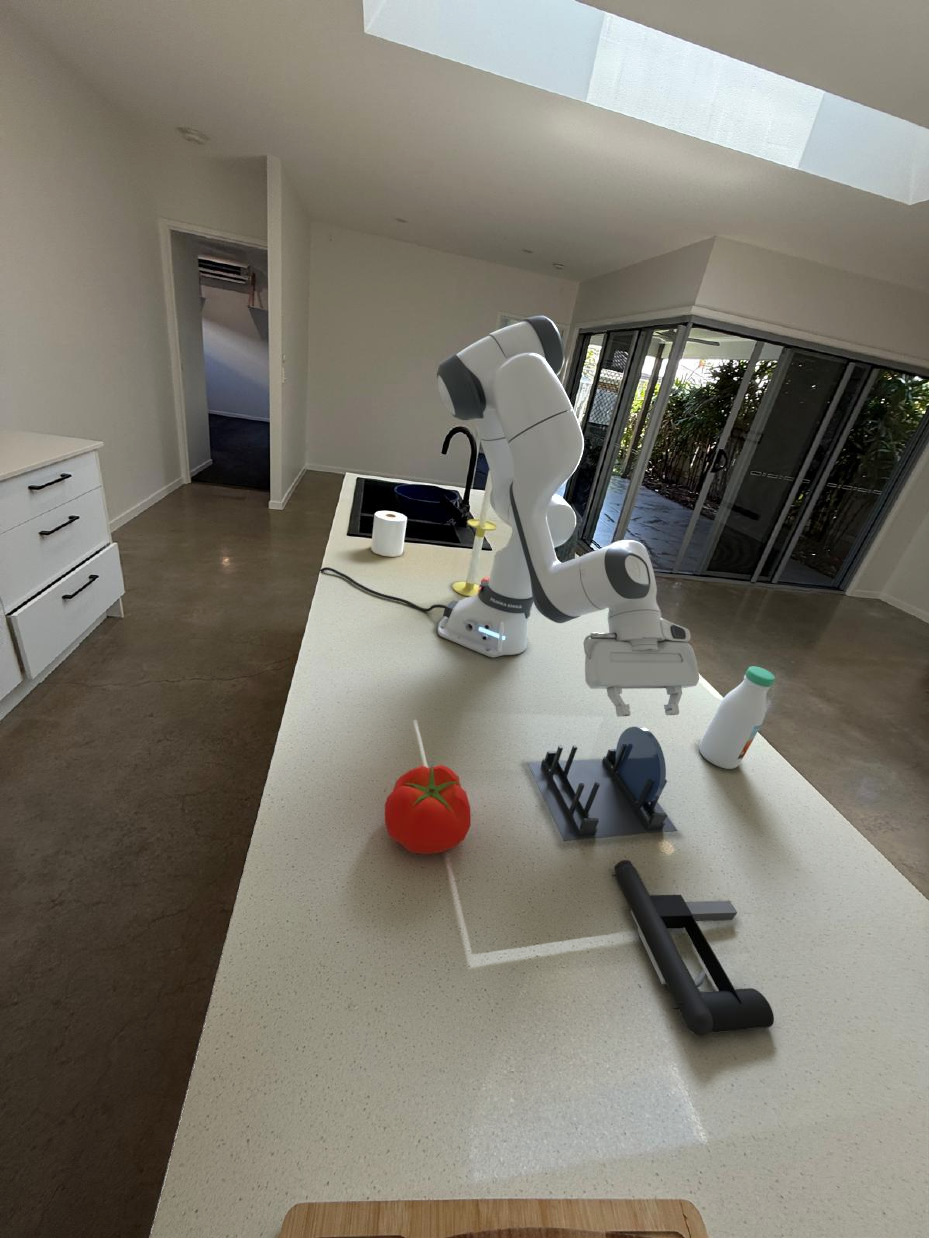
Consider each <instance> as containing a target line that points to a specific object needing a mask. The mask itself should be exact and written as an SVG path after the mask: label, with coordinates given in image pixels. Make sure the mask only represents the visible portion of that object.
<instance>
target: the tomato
mask: <svg viewBox="0 0 929 1238" xmlns="http://www.w3.org/2000/svg"><path fill="white" fill-rule="evenodd" d="M469 801H470V800H469V798H468V795H467V792H466V791H465V789H463V788H462V785H461V782H460V777H459V776H458V775H457V773H455V771H454V770H453V769H451V768H450V767H448V766H445V765H443V764H438V765H436V766H431V767H427V766H426V765H421V766H418V767H415V768H412V769H409V770H408V771H406V772H405V773H403V774H402V775H401V776H400V777H399V778H398V779H397V780H396V781H395V783H394V787H393V789H392V791H391V793H390V794H389V795H387V797H386V800H385V803H384V825H385V827H386V830H387V834H388V837H389V838H390V839H391V840H394V841H395V842H397V843H399V844H400V845H402V846H403V847H404V849H406V850H408V851H409V852H410V853H415V854H423V855H429V854H438V853H439V854H440V853H442V852H445V851H447V850H450V849H453V848H455V847H457V846H459V844H460V843H462V842H463V841H464V840H465V838H466V836H467V834H468V832H469V830H470V827H471V824H472V823H471V821H472V820H471V819H472V815H471V805H470V802H469Z"/></svg>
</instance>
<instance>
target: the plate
mask: <svg viewBox="0 0 929 1238" xmlns="http://www.w3.org/2000/svg"><path fill="white" fill-rule="evenodd" d="M616 743H617V744H616V748H615V749H616V759H617V756H618V754H619V752H620V749H621V747H622V744H626V745H627V748H626V750H625V753H624V755H623V757H622V760H621V762H620V764H619V767H618V769H617V772H618V775H619V776H620V778H621V779H622V781H623V782H624V784H625V785H626V787H627V788H628V790H629V791H630V793H631V794H632V796H633V798H634V799H635V801H637V802H638V800H639V798H640V796H641V794H642V792H643V789H644V787H645V785H646V783H647V781H648V779H651V780H652V781H653V783H652V786H651V788H650V790H649V792H648V794H647V796H646V798H645V800H644V803H648V802H652V801H655V800H656V799H657V798H658V797H659V796H660V797H661V795H662V793H663V791H664V789H665V787H664V785H665V779H666V778H667V768H666V765H667V764H666V760H665V756H664V755H665V754H664V752H663V748H662V747H661V744H660V742H659V741H658V739H657V738H656V736H655V735H654V734H653V733H652V731H650V730H649V729H647V728H646V727H643V726H629V727H628V728H626V729H624V730H623V731H622V733H621V734H620V736H619V737H618V740H617V742H616ZM666 780H667V779H666ZM665 786H666V785H665ZM663 788H664V789H663ZM662 790H663V791H662ZM660 794H661V795H660ZM660 797H659V798H660Z"/></svg>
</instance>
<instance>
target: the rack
mask: <svg viewBox="0 0 929 1238" xmlns="http://www.w3.org/2000/svg"><path fill="white" fill-rule="evenodd" d="M626 748H627V745H626V744H622V747H621V749H620V752H619V754H618V756H617V759H616V748H609V749H608V750H607V752H606V755H604V756H603V759H601V758H600V759H599V758H598V759H577V760H574V758H575V756H576V753H577V750H578V746H577V745H573V744H572V747H571V749H570V752H569V755H568V758H567V760H561V757H562V756H561V755H562V752H563V749H564V747H563V745H558V746H557V749H556V750H547V751H546V755H545V756H544V757H545V758H542V760H541V761H527V762H526V763H527V767H528V768H529V770H530V772H531V774H532V776H533V779H534V780H535V782H536V785H537V787H538V789H539V791H540V793H541V795H542V798H543V800H544V802H545V804H546V806H547V809H548V810H549V813H550V815H551V817H552V820H554V823H555V825H556V827H557V830H558V832H559V834H560V836H561V838H562V841H563V842H567V841H579V840H590V839H600V838H613V837H621V836H622V837H623V836H634V835H646V834H657V833H667V832H668V833H669V832H677V831H678V829H677V827H676V826H675V825H674V823H673V822H672V820H671V819H670V818H669V816H668V814H667V813H666V812H665V810H664V809H663V808H662V806H661V805H660V804H659V802H658V801H659V799H660V797H661V795H662V793H661V794H660V796H659V797H658V798H657V799H656V800H655V801H652V802H648V803H644V800H645V798H646V796H647V794H648V792H649V790H650V788H651V786H652V783H653V781H652V780H651V779H648V781H647V783H646V785H645V787H644V789H643V792H642V794H641V796H640V798H639V800H638V802H637V801H635V799H634V798H633V796H632V794H631V793H630V791H629V790H628V788H627V787H626V785H625V784H624V782H623V781H622V779H621V778H620V776H619V775H618V772H617V769H618V767H619V764H620V762H621V760H622V757H623V755H624V753H625V750H626ZM667 783H668V780H667V779H665V785H664V788H663V790H662V792H663V791H664V789H665V787H666V785H667Z"/></svg>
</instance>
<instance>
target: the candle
mask: <svg viewBox="0 0 929 1238" xmlns="http://www.w3.org/2000/svg"><path fill="white" fill-rule="evenodd" d="M491 490H492V480H491V474H490V469H488V473H487V479H486V483H485V489H484V493H483V498H482V503H481V508H480V513H479V518H478V519H477V518H475V519H474V518H471V519H470V518H469V519H468V520H467V521H466V524H467V525H468V526H470V527H471V528H474V529H476V530H475V534H474V535H475V536H474V540H473V544H472V549H471V555H470V561H469V564H468V565H469V566H468V570H467V575H466V581H457V582H454V583H453V584H452V590H453V591H454V592H456V594H459V595H461V596H465V597H467V598H468V597H471V596H474V595H476V594H478V589H479V586H480V584H477V583H475V582H476V577H477V573H478V568H479V564H480V557H481V554H482V548H483V542H484V540H485V539H484V538H485V534H486V531H489V532H490V531H491V532H492V531H495V530H497V529H498V526H497V525H496V524H495V523H493V522H492V521H491V522H490V521H488V516H489V511H490V507H491V504H490V493H491Z"/></svg>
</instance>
